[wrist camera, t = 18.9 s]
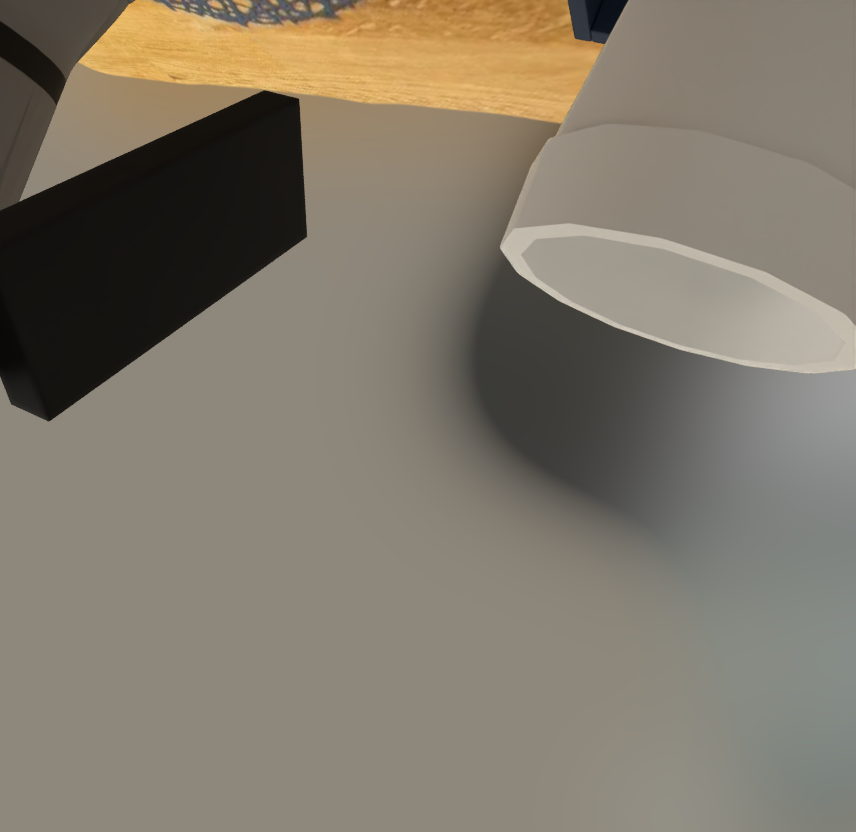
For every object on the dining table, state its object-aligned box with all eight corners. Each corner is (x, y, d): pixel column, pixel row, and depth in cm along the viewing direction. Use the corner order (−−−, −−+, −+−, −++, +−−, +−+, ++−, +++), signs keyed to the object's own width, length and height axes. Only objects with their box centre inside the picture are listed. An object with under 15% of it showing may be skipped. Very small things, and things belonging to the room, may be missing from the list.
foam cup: (884, 9, 25) (745, 379, 25) (626, -106, 25) (480, 272, 24) (1191, -234, 16) (974, 358, 15) (784, -431, 15) (548, 181, 15)
